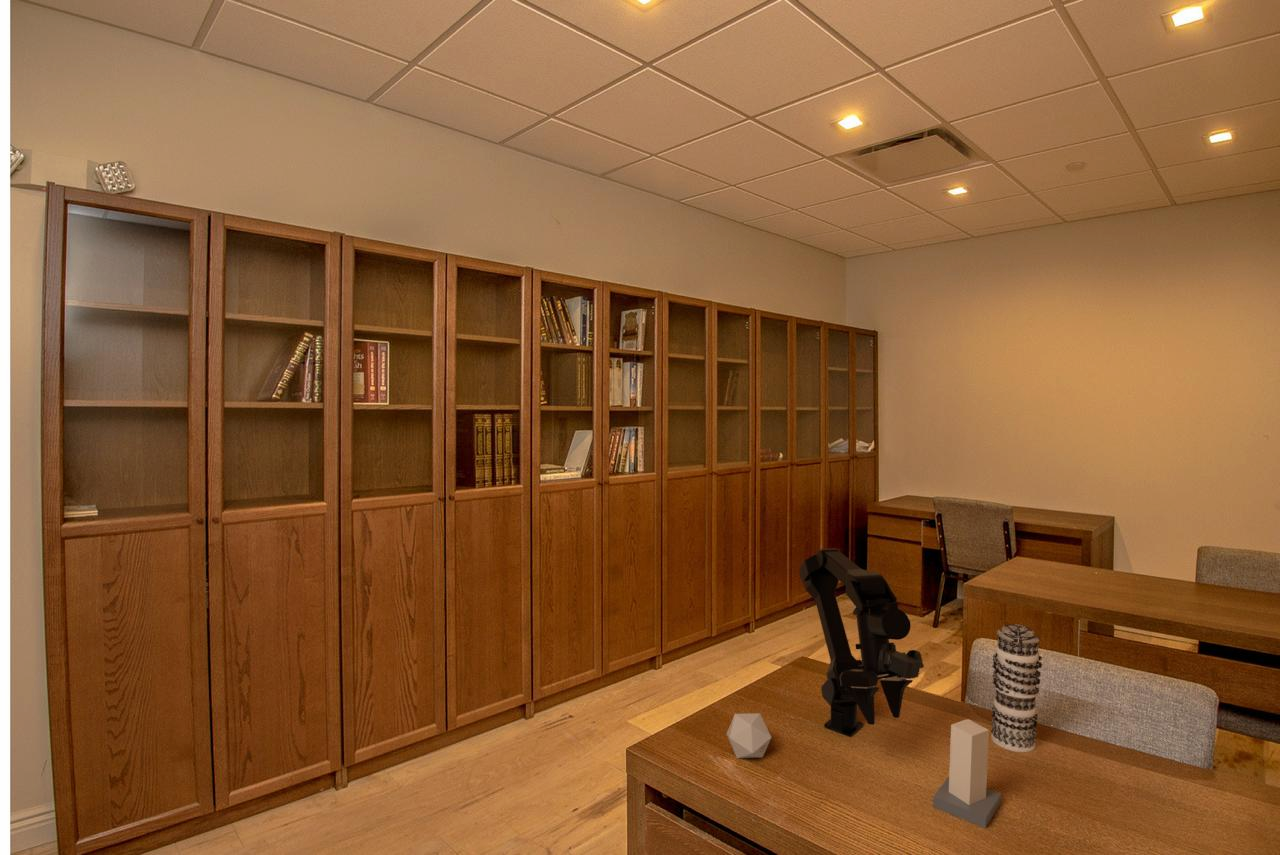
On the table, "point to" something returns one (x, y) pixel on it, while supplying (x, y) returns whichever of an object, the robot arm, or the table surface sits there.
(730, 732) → the die
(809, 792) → the table surface
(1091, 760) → the table surface
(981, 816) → the plate
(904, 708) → the table surface
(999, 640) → the decorative candle
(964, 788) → the tall white pillar block
